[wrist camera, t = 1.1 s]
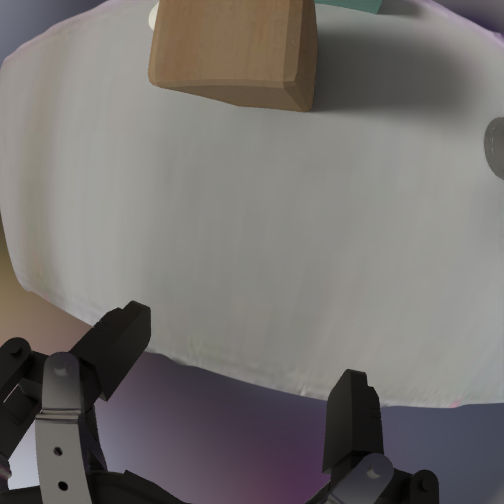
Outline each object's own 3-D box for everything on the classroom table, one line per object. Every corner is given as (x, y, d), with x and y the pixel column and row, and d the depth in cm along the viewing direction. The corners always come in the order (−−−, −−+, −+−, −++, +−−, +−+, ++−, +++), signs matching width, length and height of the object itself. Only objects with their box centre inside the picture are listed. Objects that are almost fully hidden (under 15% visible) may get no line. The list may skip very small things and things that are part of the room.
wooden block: (318, 42, 26) (310, -46, 8) (312, 114, 30) (300, 87, 13) (240, 38, 28) (161, -31, 10) (233, 106, 32) (140, 87, 14)
